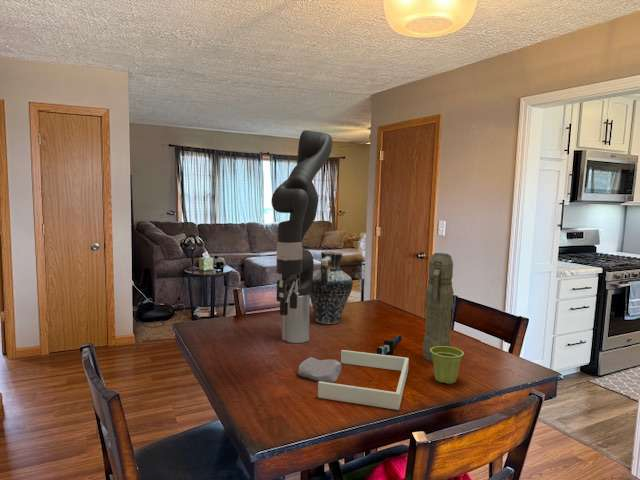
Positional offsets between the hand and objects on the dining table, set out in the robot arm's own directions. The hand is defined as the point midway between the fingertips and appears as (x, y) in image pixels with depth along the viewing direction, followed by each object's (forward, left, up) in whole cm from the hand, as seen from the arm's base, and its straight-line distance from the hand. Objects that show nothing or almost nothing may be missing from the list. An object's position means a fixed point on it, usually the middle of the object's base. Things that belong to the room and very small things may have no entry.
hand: (288, 311), depth 130 cm
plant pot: (+45, +10, -19) cm, 50 cm away
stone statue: (+42, +28, -19) cm, 54 cm away
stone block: (+10, +1, -19) cm, 21 cm away
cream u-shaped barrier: (+23, 0, -18) cm, 30 cm away
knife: (+27, +30, -19) cm, 45 cm away
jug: (-3, +57, -19) cm, 60 cm away
